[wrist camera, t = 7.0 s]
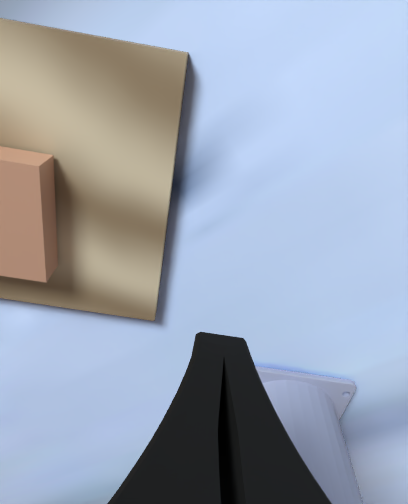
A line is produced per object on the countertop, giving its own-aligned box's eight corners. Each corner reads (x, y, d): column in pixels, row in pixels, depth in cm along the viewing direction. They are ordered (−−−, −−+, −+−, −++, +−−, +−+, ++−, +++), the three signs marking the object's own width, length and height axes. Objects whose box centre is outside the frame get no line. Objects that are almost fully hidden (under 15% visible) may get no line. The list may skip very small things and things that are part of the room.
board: (156, 312, 23) (154, 320, 22) (-65, 278, 22) (-74, 287, 22) (188, 52, 16) (187, 53, 15) (-135, -7, 15) (-152, -9, 14)
